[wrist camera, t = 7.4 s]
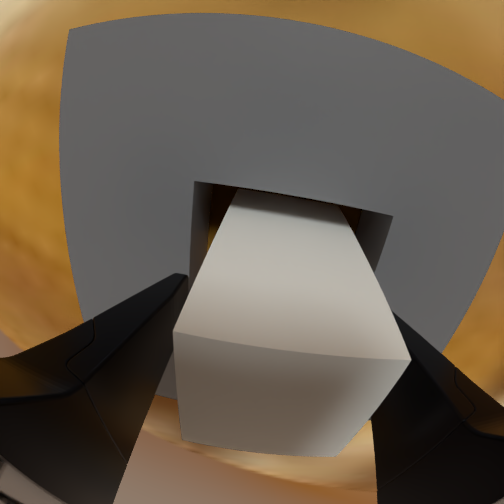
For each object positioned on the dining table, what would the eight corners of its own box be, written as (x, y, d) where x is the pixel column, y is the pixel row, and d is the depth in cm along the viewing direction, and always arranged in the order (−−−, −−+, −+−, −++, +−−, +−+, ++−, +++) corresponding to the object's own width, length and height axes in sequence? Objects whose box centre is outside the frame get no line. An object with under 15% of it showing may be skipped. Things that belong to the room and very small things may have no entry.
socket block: (487, 111, 9) (531, 119, 6) (381, 380, 16) (390, 419, 13) (112, 40, 9) (69, 29, 6) (121, 342, 16) (101, 378, 14)
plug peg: (338, 205, 11) (411, 359, 4) (315, 289, 13) (335, 456, 6) (238, 188, 11) (172, 331, 4) (227, 275, 13) (181, 439, 6)
